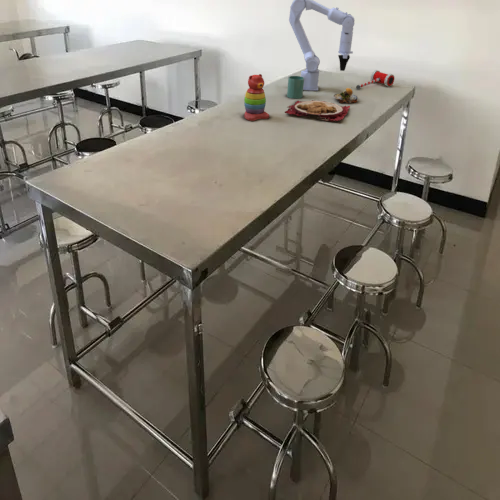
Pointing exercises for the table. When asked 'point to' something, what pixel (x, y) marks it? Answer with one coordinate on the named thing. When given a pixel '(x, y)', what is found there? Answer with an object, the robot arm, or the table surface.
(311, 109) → the plate with food
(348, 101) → the burger
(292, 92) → the green cup
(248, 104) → the stacking bear
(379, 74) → the toy hammer
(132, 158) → the table surface
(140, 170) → the table surface
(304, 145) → the table surface
